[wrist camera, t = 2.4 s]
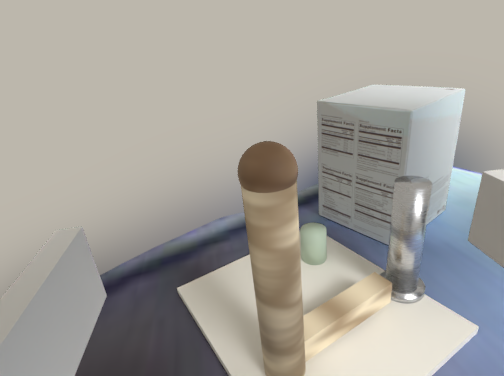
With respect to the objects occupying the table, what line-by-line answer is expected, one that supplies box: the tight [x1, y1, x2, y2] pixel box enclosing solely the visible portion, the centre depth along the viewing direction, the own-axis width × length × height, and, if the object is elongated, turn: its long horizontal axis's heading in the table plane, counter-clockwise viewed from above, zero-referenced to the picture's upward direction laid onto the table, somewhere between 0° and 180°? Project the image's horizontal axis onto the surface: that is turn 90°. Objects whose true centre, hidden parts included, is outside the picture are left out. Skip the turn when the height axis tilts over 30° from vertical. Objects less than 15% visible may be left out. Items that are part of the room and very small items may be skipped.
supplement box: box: [317, 85, 465, 245], centre depth 45 cm, size 13×13×18 cm
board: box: [177, 231, 479, 376], centre depth 33 cm, size 20×22×1 cm
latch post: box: [300, 223, 327, 265], centre depth 39 cm, size 3×3×4 cm
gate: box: [238, 141, 392, 376], centre depth 25 cm, size 14×4×19 cm, turn 122°
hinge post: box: [380, 176, 432, 304], centre depth 31 cm, size 4×4×12 cm
